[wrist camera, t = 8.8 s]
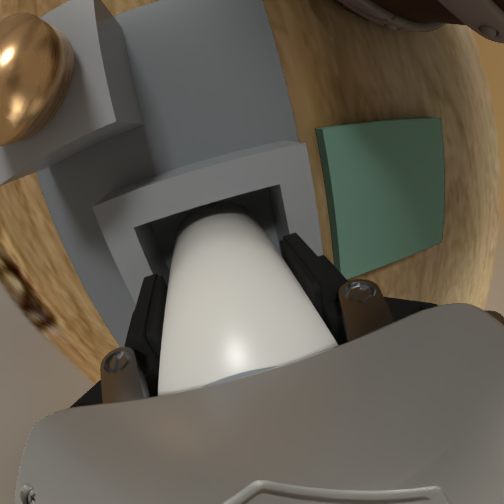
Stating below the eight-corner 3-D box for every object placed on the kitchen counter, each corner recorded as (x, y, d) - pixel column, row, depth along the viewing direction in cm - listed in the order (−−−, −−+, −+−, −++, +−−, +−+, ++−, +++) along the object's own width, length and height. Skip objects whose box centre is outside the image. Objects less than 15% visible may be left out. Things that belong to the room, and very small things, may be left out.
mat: (315, 128, 15) (322, 128, 14) (431, 117, 15) (440, 118, 14) (335, 274, 19) (341, 281, 18) (434, 237, 20) (441, 242, 19)
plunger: (32, 78, 8) (-48, 66, 3) (103, 39, 9) (45, -12, 3) (46, 150, 10) (-37, 174, 5) (120, 114, 11) (56, 104, 5)
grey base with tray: (24, 73, 9) (-36, 62, 4) (253, -9, 10) (282, -63, 5) (124, 340, 18) (111, 405, 13) (316, 286, 19) (356, 342, 14)
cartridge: (162, 217, 14) (106, 433, 3) (253, 190, 15) (395, 356, 4) (191, 293, 16) (206, 498, 6) (271, 270, 17) (366, 454, 6)
